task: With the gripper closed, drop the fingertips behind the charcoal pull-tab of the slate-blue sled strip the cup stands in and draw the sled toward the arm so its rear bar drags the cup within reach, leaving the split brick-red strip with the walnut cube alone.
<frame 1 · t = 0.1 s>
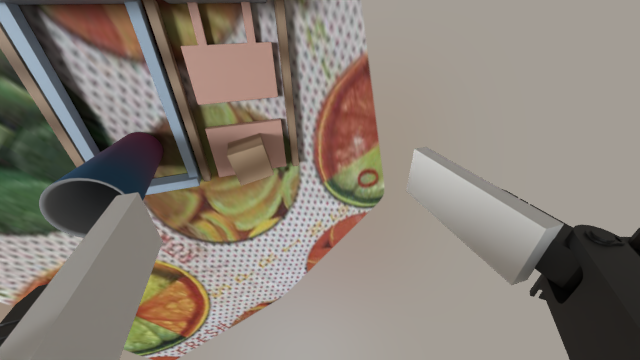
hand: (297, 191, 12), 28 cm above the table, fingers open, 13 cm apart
sled: (109, 114, 28), point 4 cm above the table, slide at 0.0 cm
cup: (143, 148, 34), resting in sled
walnut cube: (250, 152, 38), point 1 cm above the table, touching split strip
lane guides: (185, 104, 33), on the table
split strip: (242, 112, 36), on the table
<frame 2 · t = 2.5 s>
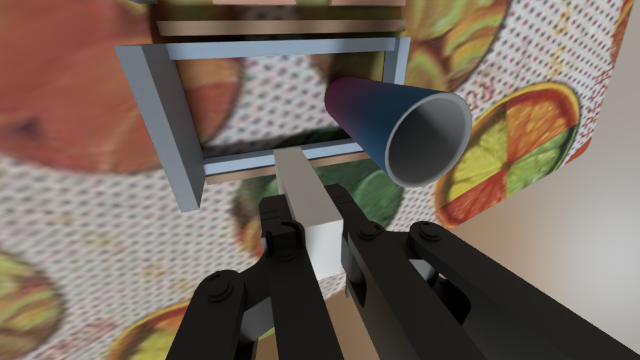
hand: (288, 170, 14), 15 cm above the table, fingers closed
sled: (303, 113, 23), point 4 cm above the table, slide at 0.0 cm
cup: (343, 98, 29), resting in sled
lane guides: (294, 27, 23), on the table
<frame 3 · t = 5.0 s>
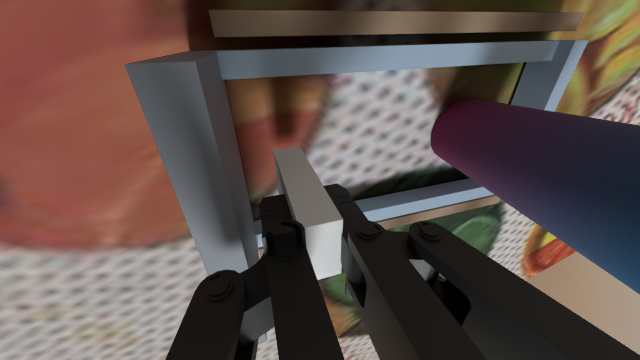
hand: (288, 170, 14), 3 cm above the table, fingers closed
sled: (424, 162, 14), point 4 cm above the table, slide at 0.2 cm, touching gripper
cup: (455, 129, 20), resting in sled
lane guides: (415, 24, 14), on the table
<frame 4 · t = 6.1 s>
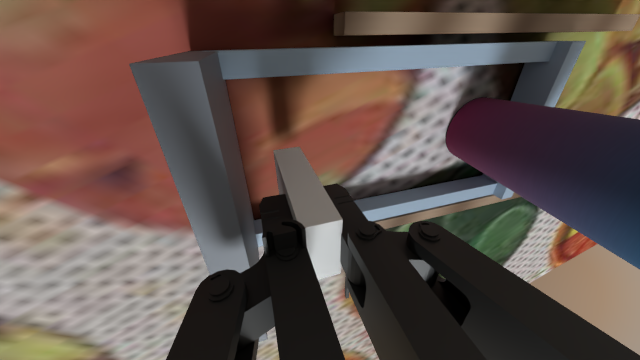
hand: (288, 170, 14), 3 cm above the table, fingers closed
sled: (423, 162, 15), point 4 cm above the table, slide at 6.5 cm, touching cup, gripper
cup: (469, 127, 20), resting in sled
lane guides: (494, 24, 16), on the table
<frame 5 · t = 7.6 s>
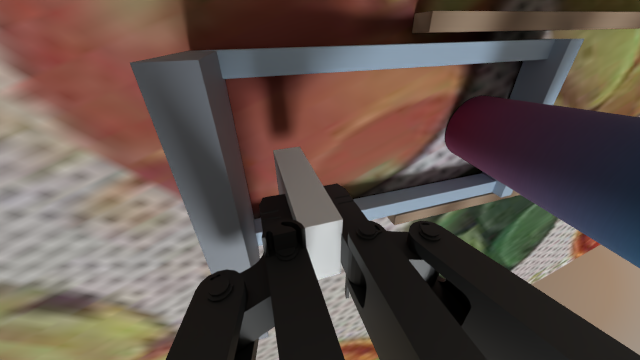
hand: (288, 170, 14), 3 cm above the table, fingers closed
sled: (423, 160, 15), point 4 cm above the table, slide at 11.7 cm, touching cup, gripper
cup: (468, 125, 20), resting in sled
lane guides: (549, 22, 17), on the table
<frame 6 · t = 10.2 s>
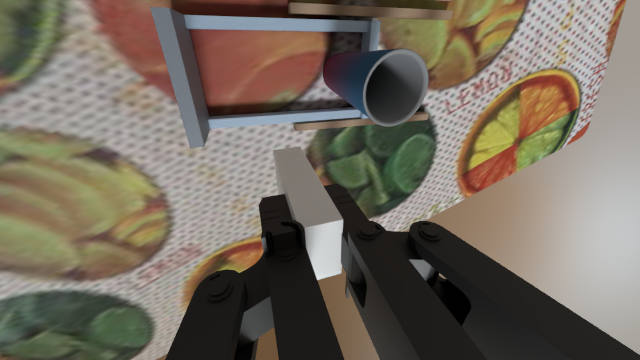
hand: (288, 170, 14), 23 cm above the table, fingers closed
sled: (290, 77, 29), point 4 cm above the table, slide at 11.7 cm
cup: (338, 72, 35), resting in sled
lane guides: (372, 12, 32), on the table
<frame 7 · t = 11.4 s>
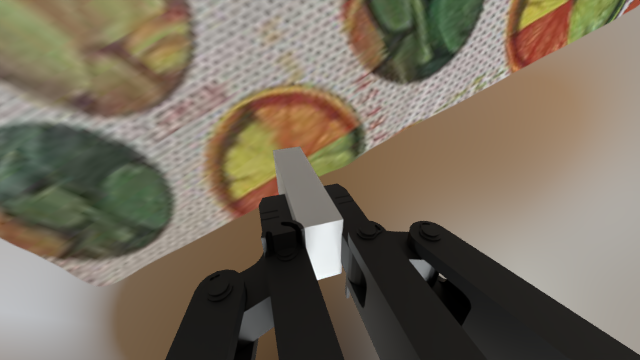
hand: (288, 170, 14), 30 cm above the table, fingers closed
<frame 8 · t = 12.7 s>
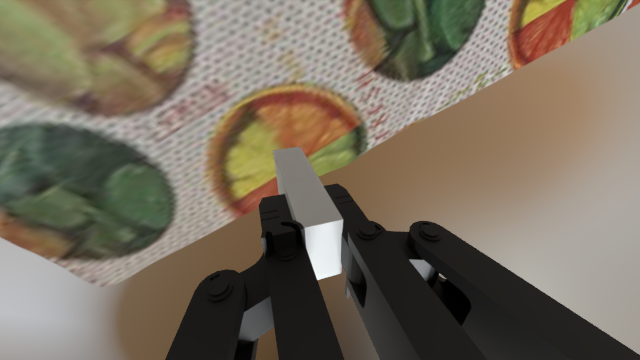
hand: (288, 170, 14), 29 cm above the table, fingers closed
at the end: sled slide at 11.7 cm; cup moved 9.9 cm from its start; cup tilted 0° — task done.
